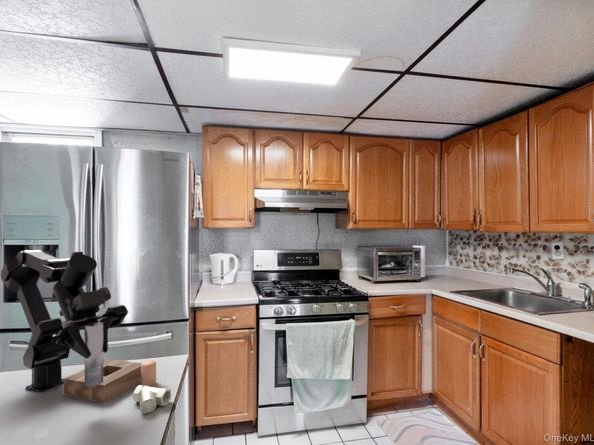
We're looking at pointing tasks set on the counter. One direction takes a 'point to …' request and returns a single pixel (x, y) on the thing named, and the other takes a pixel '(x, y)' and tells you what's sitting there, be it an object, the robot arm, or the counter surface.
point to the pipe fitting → (151, 397)
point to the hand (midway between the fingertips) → (97, 354)
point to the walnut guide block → (104, 381)
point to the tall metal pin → (94, 354)
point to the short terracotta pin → (148, 373)
